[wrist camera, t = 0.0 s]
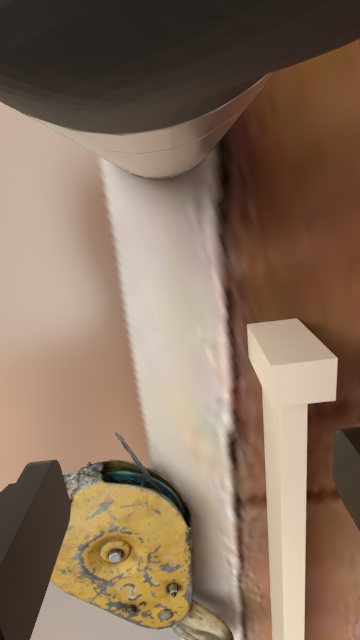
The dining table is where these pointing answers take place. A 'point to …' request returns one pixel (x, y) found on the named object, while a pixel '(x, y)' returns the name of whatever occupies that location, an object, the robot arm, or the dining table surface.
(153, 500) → the pulley block
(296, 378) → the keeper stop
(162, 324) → the dining table surface
